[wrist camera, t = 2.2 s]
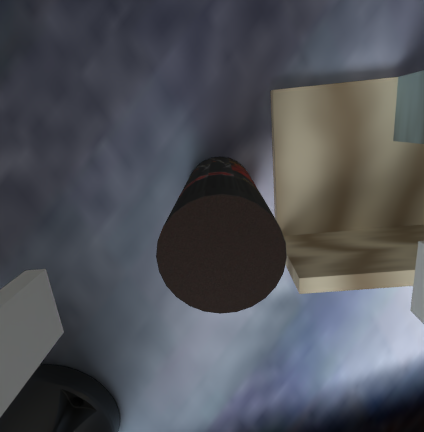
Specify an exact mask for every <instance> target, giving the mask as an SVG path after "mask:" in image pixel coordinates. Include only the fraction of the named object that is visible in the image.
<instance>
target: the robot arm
mask: <svg viewBox="0 0 424 432" xmlns="http://www.w3.org/2000/svg"><path fill="white" fill-rule="evenodd" d="M410 311H411V312H412V313H413V314H414V315H415V316H416V317H417V318H418V319H419V320H420V321H421V322H422V323H423V324H424V241H419V242H418V250H417V259H416V267H415V276H414V284H413V293H412V302H411V310H410ZM63 333H64V330H63V327H62V323H61V320H60V316H59V313H58V310H57V306H56V303H55V299H54V296H53V292H52V289H51V285H50V282H49V278H48V275H47V271H46V269H37V270H25V271H24V272H23V273H22V274H20V275H19V276H18V277H16V278H15V279H14V280H12V281H11V282H10V283H8V284H7V285H6V286H4V287H3V288H2V289H0V432H118V430H119V425H120V416H119V411H118V408H117V405H116V403H115V401H114V399H113V398H112V396H111V395H110V394H109V392H108V391H107V390H106V389H105V388H104V387H103V386H102V385H101V384H99V383H98V382H97V381H96V380H94V379H93V378H91V377H89V376H88V375H86V374H84V373H81V372H79V371H77V370H74V369H71V368H67V367H63V366H57V365H40V364H41V362H42V361H43V360H44V358H45V357H46V356H47V354H48V353H49V352H50V350H51V349H52V348H53V346H54V345H55V344H56V342H57V341H58V340H59V338H60V337H61V336H62V334H63Z"/></svg>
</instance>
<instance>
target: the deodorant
mask: <svg viewBox="0 0 424 432" xmlns="http://www.w3.org/2000/svg"><path fill="white" fill-rule="evenodd" d="M156 258H157V263H158V268H159V272H160V274H161V276H162V278H163V280H164V282H165V284H166V286H167V287H168V288H169V289H170V290H171V291H172V293H173V294H174V295H175V296H176V297H177V298H179V299H180V300H182V301H183V302H185V303H186V304H188V305H189V306H192V307H194V308H197V309H200V310H202V311H205V312H213V313H230V312H238V311H240V310H243V309H246V308H249V307H252V306H254V305H255V304H257V303H258V302H260V301H261V300H263V299H265V298H266V297H267V296H268V295H269V294H270V292H271V291H272V290H273V289H274V288H275V287H276V286H277V284H278V282H279V280H280V278H281V276H282V275H283V272H284V268H285V264H286V259H287V254H286V242H285V239H284V236H283V233H282V231H281V228H280V226H279V224H278V223H277V221H276V219H275V218H274V216H273V214H272V213H271V211H270V209H269V207H268V206H267V204H266V202H265V201H264V199H263V197H262V196H261V194H260V192H259V191H258V189H257V187H256V186H255V184H254V182H253V181H252V179H251V177H250V176H249V174H248V172H247V171H246V170H245V168H244V167H243V166H242V165H241V164H239V163H238V162H237V161H235V160H233V159H230V158H226V157H214V158H210V159H208V160H205V161H203V162H202V163H201V164H199V165H198V166H197V167H196V168H195V170H194V171H193V172H192V174H191V176H190V178H189V179H188V181H187V183H186V185H185V187H184V189H183V191H182V193H181V194H180V196H179V198H178V200H177V202H176V204H175V206H174V208H173V209H172V211H171V213H170V215H169V217H168V219H167V221H166V223H165V224H164V226H163V229H162V231H161V234H160V236H159V239H158V243H157V254H156Z"/></svg>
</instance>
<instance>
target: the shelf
mask: <svg viewBox="0 0 424 432" xmlns="http://www.w3.org/2000/svg"><path fill="white" fill-rule="evenodd" d="M270 93H271V121H272V149H273V177H274V205H275V219H276V221H277V223H278V224H279V226H280V228H281V231H282V233H283V236H284V239H285V242H286V254H287V259H286V266H287V269H288V271H289V273H290V275H291V277H292V279H293V281H294V283H295V285H296V288H297V290H298V292H299V294H304V293H318V292H332V291H346V290H360V289H374V288H388V287H402V286H413V284H414V276H415V267H416V259H417V250H418V242H419V241H424V70H423V71H419V72H415V73H411V74H408V75H404V76H400V77H392V78H383V79H373V80H364V81H354V82H344V83H335V84H325V85H316V86H306V87H296V88H287V89H277V90H272V91H270Z"/></svg>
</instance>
